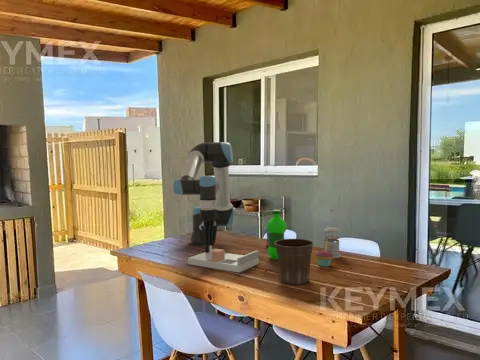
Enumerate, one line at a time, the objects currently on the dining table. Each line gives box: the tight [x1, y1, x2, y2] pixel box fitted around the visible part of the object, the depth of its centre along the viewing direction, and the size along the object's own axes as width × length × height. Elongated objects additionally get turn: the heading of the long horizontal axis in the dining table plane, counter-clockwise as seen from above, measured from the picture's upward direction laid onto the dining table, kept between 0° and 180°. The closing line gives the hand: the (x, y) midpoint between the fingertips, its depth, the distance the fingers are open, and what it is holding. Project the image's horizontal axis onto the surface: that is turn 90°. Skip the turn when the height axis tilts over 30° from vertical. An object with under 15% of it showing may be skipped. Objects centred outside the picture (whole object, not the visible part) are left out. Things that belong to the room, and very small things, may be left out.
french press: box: [322, 208, 342, 259], centre depth 201 cm, size 10×12×25 cm
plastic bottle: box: [266, 209, 287, 261], centre depth 196 cm, size 10×10×25 cm
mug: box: [264, 227, 269, 247], centre depth 225 cm, size 12×9×11 cm
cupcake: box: [315, 240, 334, 268], centre depth 182 cm, size 9×8×12 cm
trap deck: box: [187, 250, 260, 273], centre depth 186 cm, size 30×18×6 cm, turn 58°
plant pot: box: [274, 238, 314, 285], centre depth 159 cm, size 16×16×16 cm
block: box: [210, 248, 226, 262], centre depth 183 cm, size 6×6×4 cm
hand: (208, 259), depth 177 cm, fingers closed
